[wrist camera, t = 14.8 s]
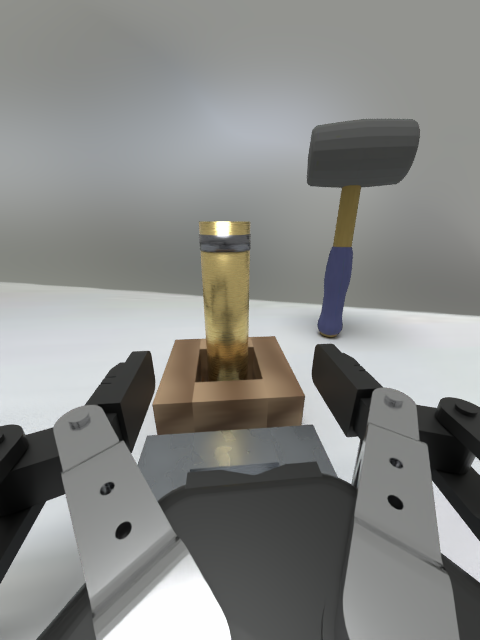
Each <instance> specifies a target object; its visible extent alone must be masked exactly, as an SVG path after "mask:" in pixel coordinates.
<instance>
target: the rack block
mask: <svg viewBox="0 0 480 640" xmlns="http://www.w3.org/2000/svg"><path fill="white" fill-rule="evenodd" d="M304 400H305V395H304V393H303V391H302V389H301V387H300V385H299V383H298V381H297V379H296V377H295V375H294V373H293V371H292V369H291V367H290V365H289V363H288V361H287V359H286V357H285V355H284V353H283V351H282V350H281V348H280V346H279V344H278V342H277V340H276V338H275V336H271V337H248V380H235V381H215V382H209V381H208V364H207V347H206V339H185V340H175V343H174V346H173V348H172V351H171V354H170V357H169V360H168V362H167V365H166V368H165V371H164V374H163V376H162V379H161V382H160V385H159V388H158V390H157V393H156V396H155V399H154V402H153V404H152V405H153V411H154V417H155V423H156V429H157V435H167V434H182V433H197V432H211V431H226V430H241V429H256V428H271V427H286V426H301V423H302V416H303V408H304Z"/></svg>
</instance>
